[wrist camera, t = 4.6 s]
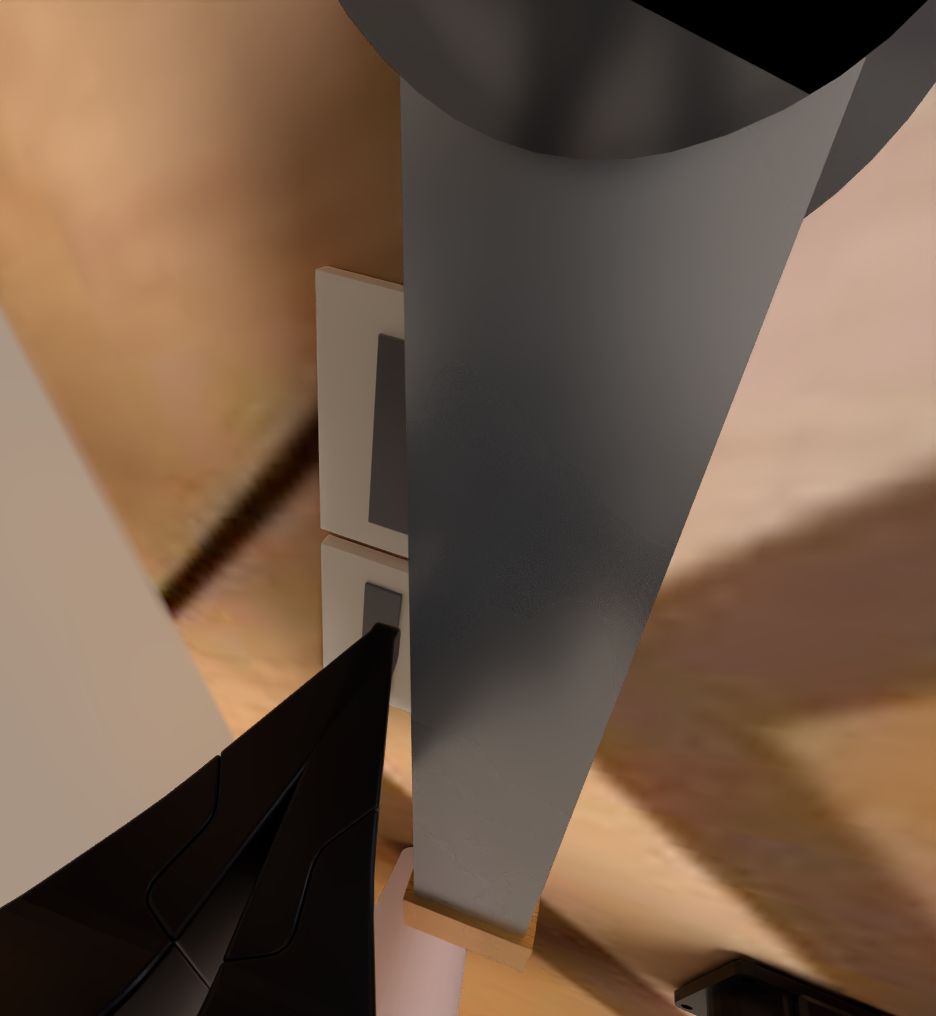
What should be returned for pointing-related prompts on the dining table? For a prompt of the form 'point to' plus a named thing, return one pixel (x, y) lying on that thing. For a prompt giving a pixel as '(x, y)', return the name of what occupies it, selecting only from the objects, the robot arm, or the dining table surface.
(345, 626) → the label
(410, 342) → the swing arm
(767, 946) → the dining table surface
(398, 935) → the smoothie
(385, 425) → the label
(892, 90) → the pivot base
